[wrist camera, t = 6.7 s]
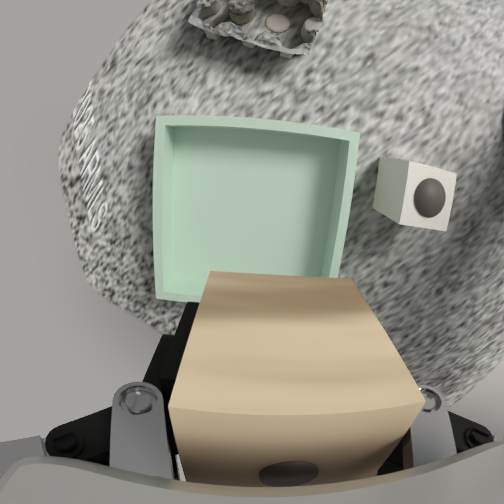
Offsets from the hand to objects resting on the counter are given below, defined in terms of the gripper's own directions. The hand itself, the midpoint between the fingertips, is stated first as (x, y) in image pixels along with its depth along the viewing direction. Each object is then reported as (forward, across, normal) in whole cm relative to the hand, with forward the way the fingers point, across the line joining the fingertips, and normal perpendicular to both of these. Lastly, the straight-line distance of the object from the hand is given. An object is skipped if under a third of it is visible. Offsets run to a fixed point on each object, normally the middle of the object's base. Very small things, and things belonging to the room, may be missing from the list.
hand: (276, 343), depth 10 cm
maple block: (+1, 0, 0) cm, 1 cm away
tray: (+18, +1, -1) cm, 18 cm away
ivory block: (+18, -13, -5) cm, 22 cm away
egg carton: (+18, +2, -19) cm, 27 cm away
